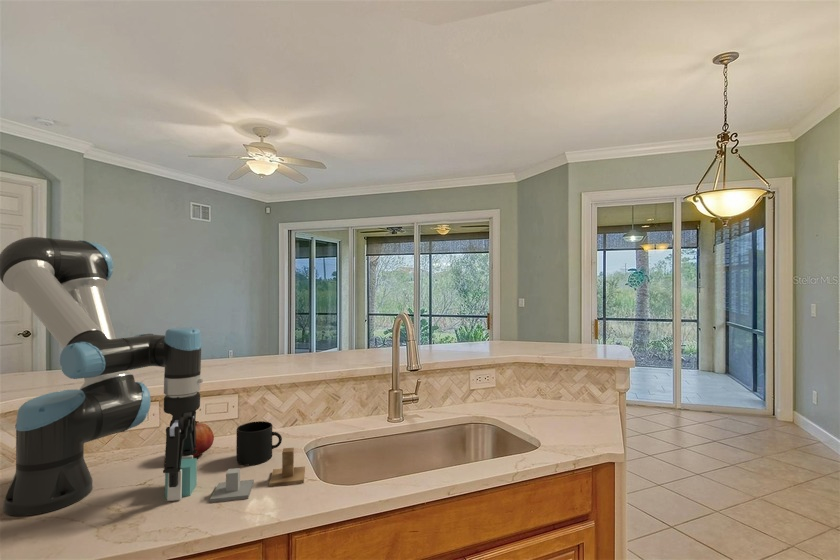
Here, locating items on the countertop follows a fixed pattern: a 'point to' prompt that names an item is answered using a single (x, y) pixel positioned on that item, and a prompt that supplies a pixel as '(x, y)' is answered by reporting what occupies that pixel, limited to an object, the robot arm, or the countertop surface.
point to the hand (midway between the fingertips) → (180, 490)
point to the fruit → (203, 438)
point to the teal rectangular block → (186, 476)
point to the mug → (255, 443)
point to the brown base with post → (287, 471)
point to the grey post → (232, 487)
